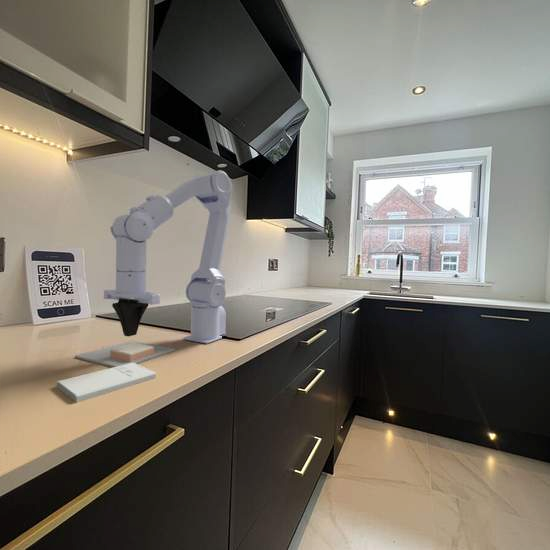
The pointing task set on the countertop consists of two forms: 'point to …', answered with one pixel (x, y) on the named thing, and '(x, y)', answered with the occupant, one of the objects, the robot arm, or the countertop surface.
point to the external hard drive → (104, 381)
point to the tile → (132, 352)
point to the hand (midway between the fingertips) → (130, 335)
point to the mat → (104, 358)
